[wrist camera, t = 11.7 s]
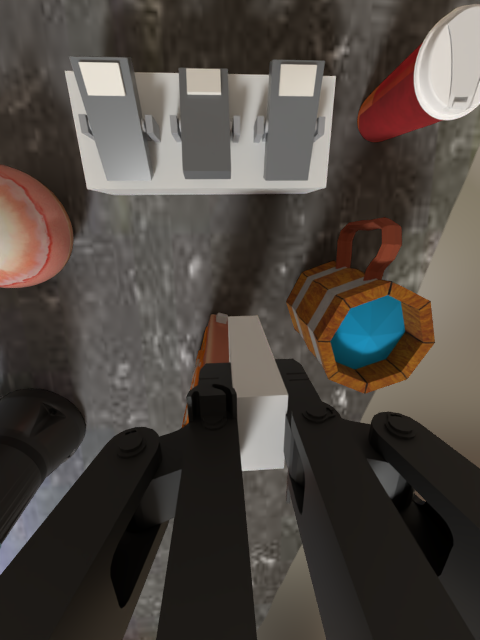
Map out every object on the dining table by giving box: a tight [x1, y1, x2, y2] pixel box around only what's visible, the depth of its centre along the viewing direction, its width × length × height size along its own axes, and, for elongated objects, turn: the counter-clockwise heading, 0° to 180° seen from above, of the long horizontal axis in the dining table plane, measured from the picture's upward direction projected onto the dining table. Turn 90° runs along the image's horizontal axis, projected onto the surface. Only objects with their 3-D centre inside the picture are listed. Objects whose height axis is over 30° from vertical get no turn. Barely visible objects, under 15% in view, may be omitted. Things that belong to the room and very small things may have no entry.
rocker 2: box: [179, 68, 232, 179], centre depth 25 cm, size 5×9×2 cm, turn 1°
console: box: [65, 71, 336, 195], centre depth 30 cm, size 26×10×11 cm, turn 91°
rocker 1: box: [69, 56, 154, 181], centre depth 25 cm, size 5×9×2 cm, turn 1°
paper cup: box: [357, 4, 480, 142], centre depth 29 cm, size 8×8×14 cm
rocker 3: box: [263, 60, 325, 181], centre depth 26 cm, size 5×9×2 cm, turn 1°
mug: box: [286, 217, 435, 393], centre depth 36 cm, size 20×14×15 cm
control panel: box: [182, 313, 229, 428], centre depth 36 cm, size 21×7×15 cm
